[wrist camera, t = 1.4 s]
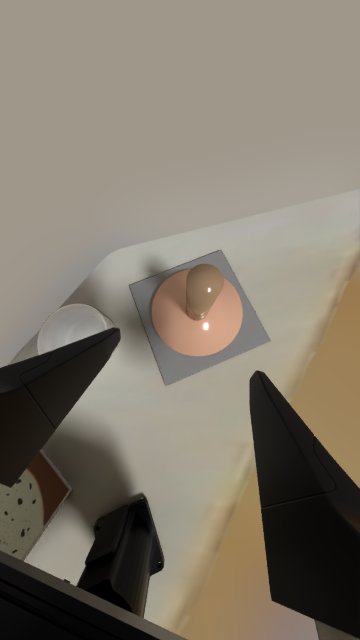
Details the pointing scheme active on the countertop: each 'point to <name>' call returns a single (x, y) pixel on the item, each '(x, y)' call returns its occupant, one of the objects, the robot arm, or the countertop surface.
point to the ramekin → (70, 326)
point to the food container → (30, 505)
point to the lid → (197, 311)
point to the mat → (183, 365)
